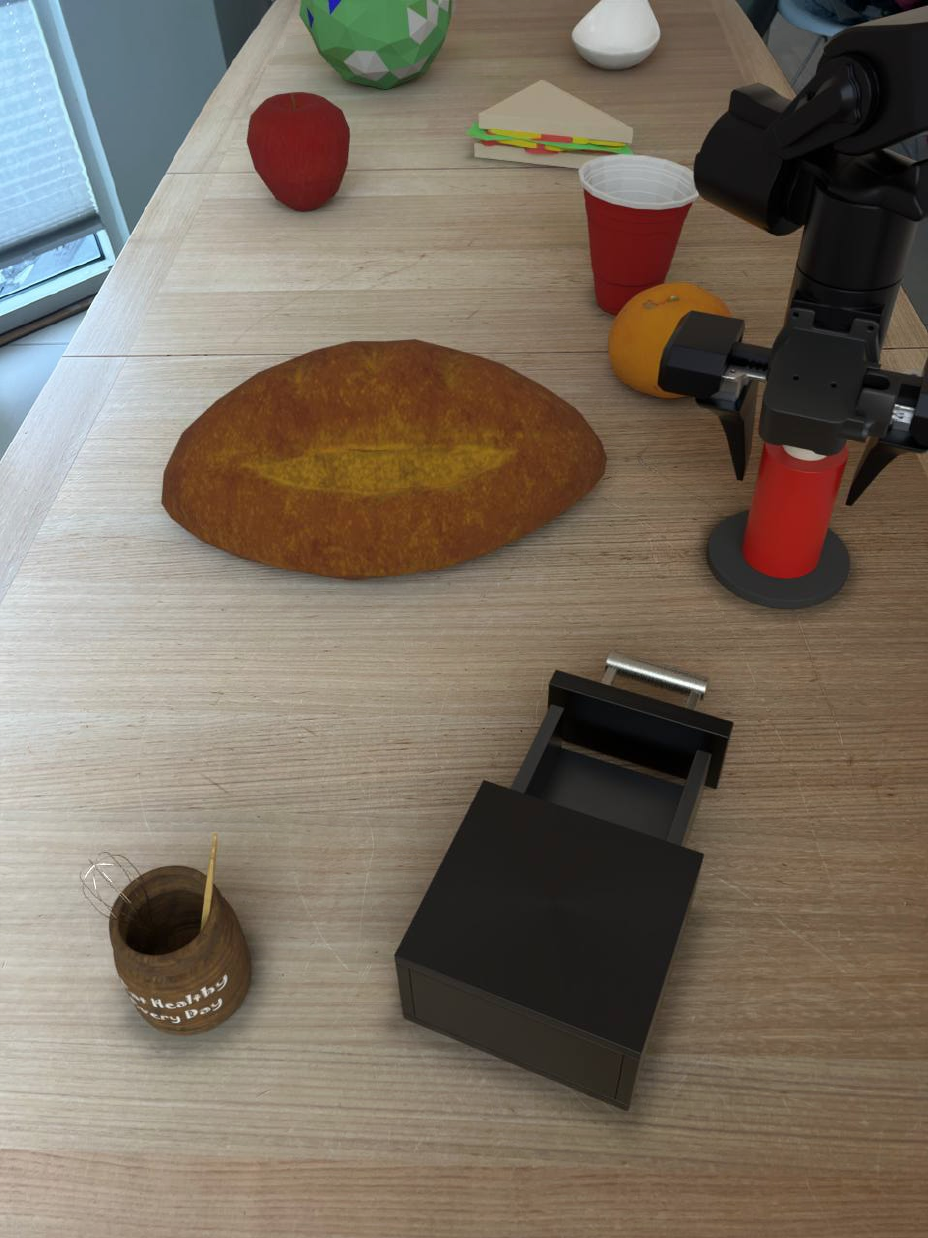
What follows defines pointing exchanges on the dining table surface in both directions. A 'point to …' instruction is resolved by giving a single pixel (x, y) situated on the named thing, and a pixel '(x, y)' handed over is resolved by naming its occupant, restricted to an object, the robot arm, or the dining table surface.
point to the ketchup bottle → (791, 509)
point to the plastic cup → (633, 222)
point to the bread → (379, 461)
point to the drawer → (627, 748)
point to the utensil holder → (178, 947)
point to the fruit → (654, 331)
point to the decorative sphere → (378, 37)
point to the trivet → (772, 590)
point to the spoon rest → (617, 34)
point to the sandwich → (548, 129)
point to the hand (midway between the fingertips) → (794, 489)
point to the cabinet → (549, 941)
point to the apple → (299, 148)
